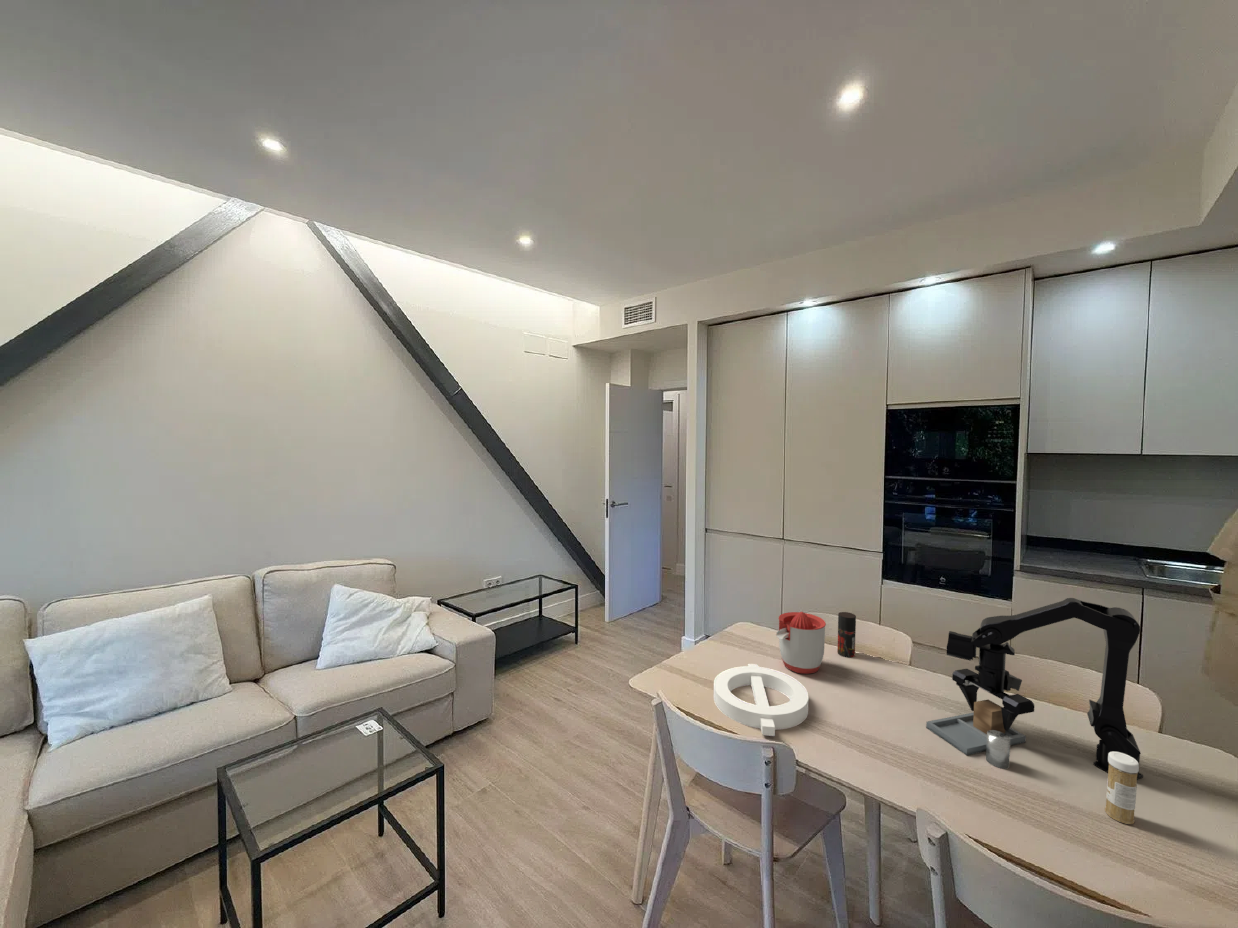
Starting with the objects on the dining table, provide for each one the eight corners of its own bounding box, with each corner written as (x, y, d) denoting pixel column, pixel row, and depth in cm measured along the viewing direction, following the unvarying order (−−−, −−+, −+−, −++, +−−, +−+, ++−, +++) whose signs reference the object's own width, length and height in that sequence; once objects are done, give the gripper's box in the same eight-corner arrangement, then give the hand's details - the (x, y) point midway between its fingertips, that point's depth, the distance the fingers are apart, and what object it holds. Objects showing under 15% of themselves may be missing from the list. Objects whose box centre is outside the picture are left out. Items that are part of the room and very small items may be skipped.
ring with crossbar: (769, 743, 130) (769, 726, 129) (694, 697, 152) (695, 683, 152) (826, 707, 146) (827, 692, 146) (752, 671, 169) (752, 658, 168)
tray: (1025, 742, 129) (1025, 735, 128) (966, 755, 124) (966, 748, 124) (981, 716, 140) (981, 710, 140) (926, 727, 135) (926, 721, 135)
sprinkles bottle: (1104, 805, 107) (1107, 747, 106) (1134, 816, 104) (1138, 756, 103) (1105, 817, 104) (1108, 757, 103) (1136, 829, 100) (1140, 767, 100)
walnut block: (1005, 733, 131) (1006, 709, 131) (990, 736, 130) (992, 711, 130) (987, 723, 136) (988, 699, 136) (973, 725, 135) (974, 701, 134)
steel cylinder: (1013, 766, 119) (1015, 739, 119) (999, 770, 118) (1000, 742, 118) (995, 754, 124) (996, 728, 123) (981, 757, 123) (982, 731, 122)
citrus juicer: (764, 660, 176) (765, 607, 174) (804, 653, 181) (805, 601, 179) (792, 681, 161) (793, 623, 159) (835, 673, 166) (836, 616, 165)
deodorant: (839, 648, 184) (840, 610, 183) (856, 653, 181) (857, 614, 180) (835, 654, 180) (836, 615, 179) (852, 659, 176) (853, 619, 175)
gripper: (1051, 677, 125) (1048, 735, 126) (981, 646, 143) (979, 697, 144) (1019, 683, 122) (1016, 742, 123) (951, 651, 140) (949, 703, 141)
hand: (989, 719), depth 133 cm, fingers open, 9 cm apart
